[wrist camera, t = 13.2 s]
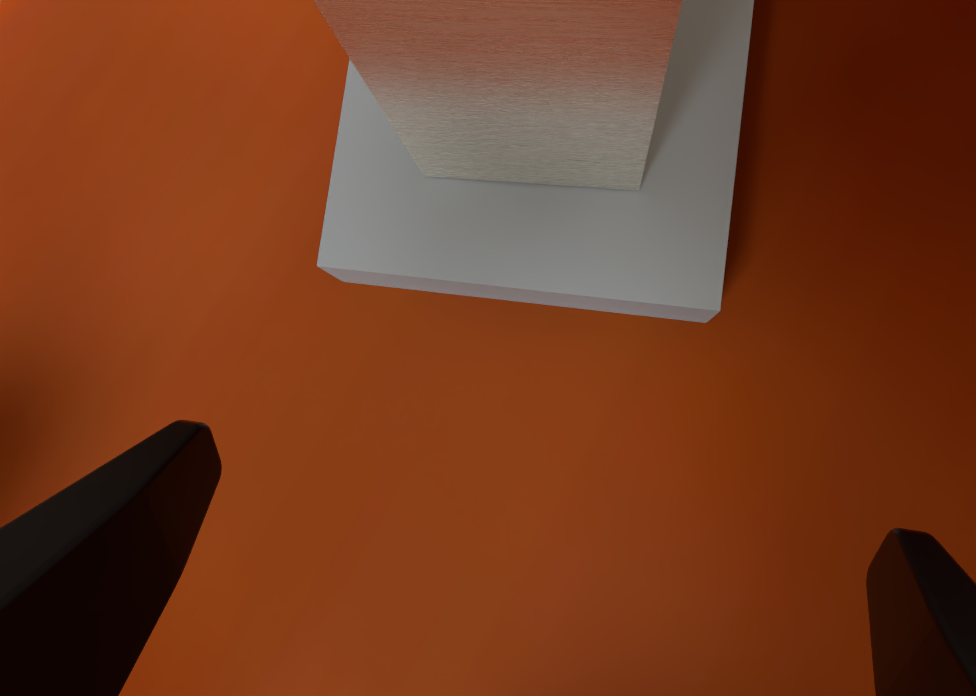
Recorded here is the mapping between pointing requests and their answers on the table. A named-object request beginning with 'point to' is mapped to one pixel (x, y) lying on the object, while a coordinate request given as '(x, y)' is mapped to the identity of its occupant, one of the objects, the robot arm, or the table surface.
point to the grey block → (558, 201)
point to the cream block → (515, 83)
